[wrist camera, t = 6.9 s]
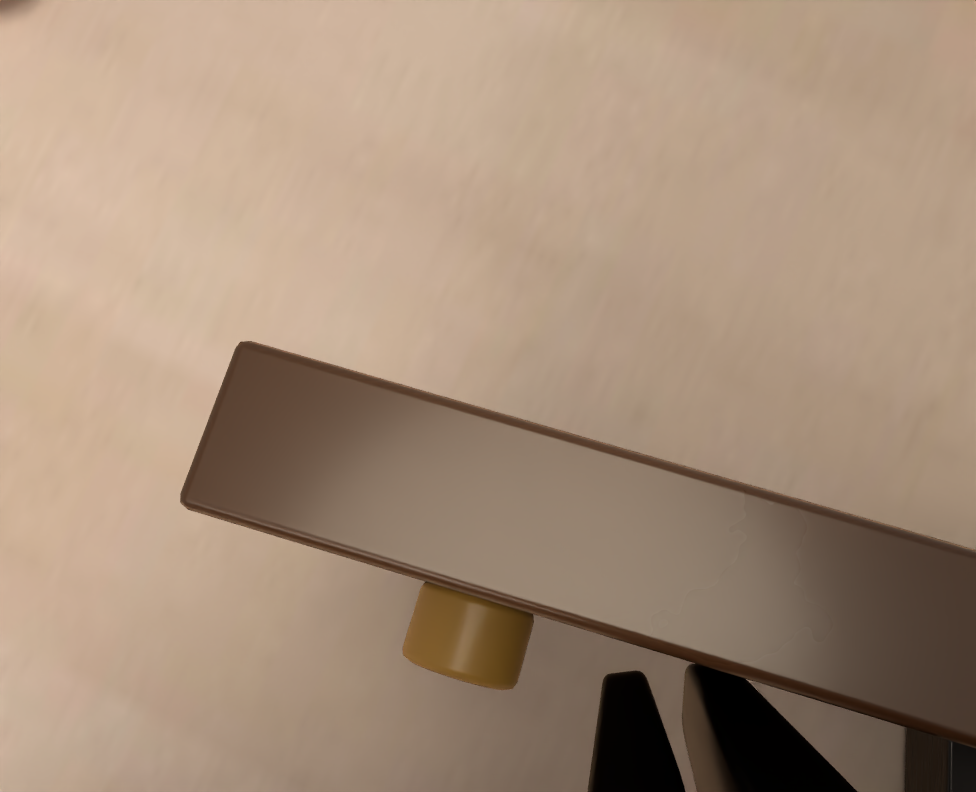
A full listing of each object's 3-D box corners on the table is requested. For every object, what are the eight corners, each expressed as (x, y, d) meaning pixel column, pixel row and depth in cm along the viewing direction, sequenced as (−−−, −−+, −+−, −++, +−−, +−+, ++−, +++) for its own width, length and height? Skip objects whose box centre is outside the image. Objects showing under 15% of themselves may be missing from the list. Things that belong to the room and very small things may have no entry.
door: (1075, 708, 14) (2494, 985, 4) (1061, 823, 13) (2593, 1437, 4) (404, 508, 14) (234, 334, 5) (371, 612, 14) (115, 652, 4)
